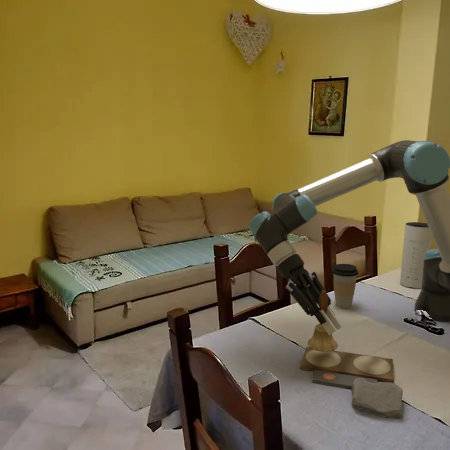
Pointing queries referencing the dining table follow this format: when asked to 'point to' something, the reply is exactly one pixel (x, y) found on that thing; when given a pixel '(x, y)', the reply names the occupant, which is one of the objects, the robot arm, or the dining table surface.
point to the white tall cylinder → (414, 253)
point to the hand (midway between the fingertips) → (335, 330)
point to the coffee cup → (344, 284)
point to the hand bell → (322, 331)
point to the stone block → (378, 398)
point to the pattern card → (337, 379)
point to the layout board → (349, 364)
